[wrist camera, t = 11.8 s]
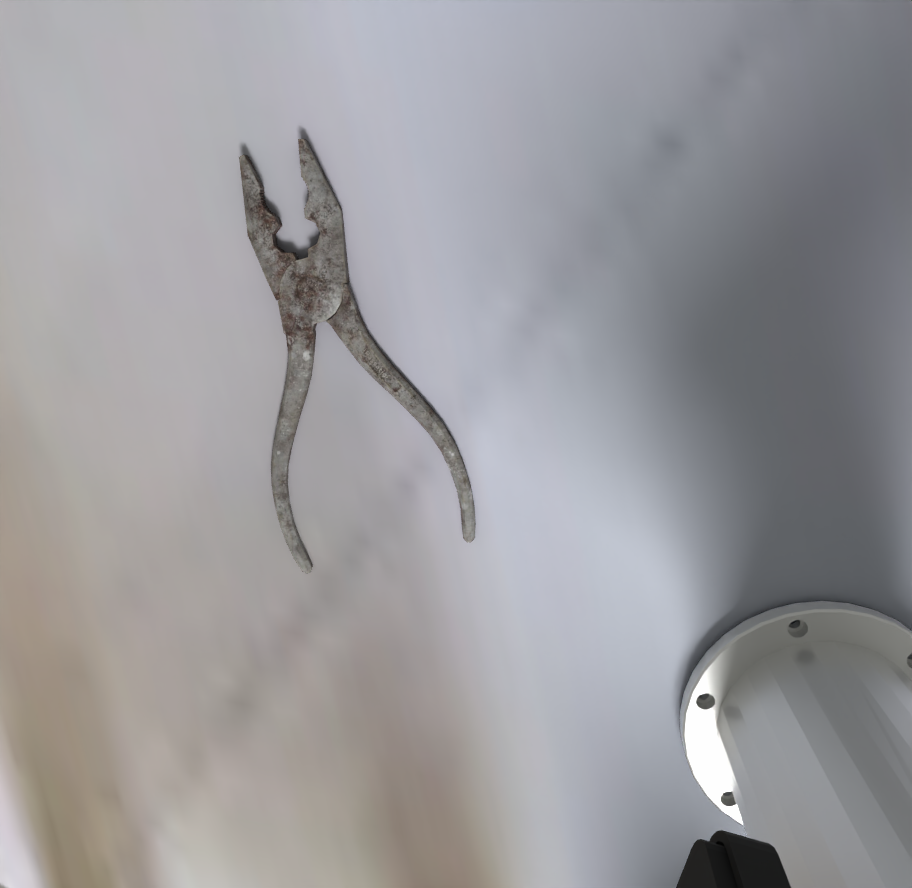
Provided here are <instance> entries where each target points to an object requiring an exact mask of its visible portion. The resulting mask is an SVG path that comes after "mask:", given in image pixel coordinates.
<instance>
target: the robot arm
mask: <svg viewBox="0 0 912 888" xmlns="http://www.w3.org/2000/svg"><path fill="white" fill-rule="evenodd" d="M795 620H797V621H796V622H795V623H793V624H790V623H791V622H793V621H795ZM703 693H705V694H703ZM701 694H703V695H701ZM680 735H681V739H682V743H683V748H684V752H685V756H686V759H687V761H688V764H689V767H690V769H691V772H692V775H693V777H694V778H695V780H696V781H697V783H698V784H699V786H700V788H701V789H702V791H703V792H704V794H705V795H706V796H707V797H708V798H709V799H710V800H711V802H712V803H713V804H714V805H715V806H716V807H717V808H718V809H719V810H721V811H722V812H723V813H725V814H726V815H728V816H729V817H731V818H732V819H733V820H735V821H736V822H738V823H739V824H741V825H743V826H744V828H745V830H746V833H747V836H748V838H747V837H744V836H740V835H737V834H733V833H729V832H726V831H722V830H721V831H717V832H716V833H715V834H714V835H713V836H712V838H711V839H710V841H705V840H701V839H700V840H697V841H696V842H695V843H694V845H693V847H692V849H691V851H690V854H689V856H688V859H687V861H686V864H685V866H684V869H683V872H682V874H681V877H680V879H679V882H678V884H677V887H676V888H912V631H911V630H910V629H908V628H907V627H906V626H904V625H903V624H902V623H900V622H899V621H897V620H895V619H893V618H891V617H889V616H887V615H884V614H882V613H880V612H878V611H876V610H873V609H869V608H865V607H862V606H858V605H854V604H850V603H841V602H829V601H815V602H803V603H794V604H790V605H786V606H782V607H778V608H774V609H770V610H768V611H765V612H763V613H761V614H759V615H756V616H754V617H752V618H750V619H747V620H745V621H744V622H742V623H741V624H739V625H738V626H736V627H735V628H733V629H732V630H730V631H729V632H727V633H726V634H724V635H723V636H722V637H721V638H720V639H719V640H718V641H717V642H716V643H715V644H714V645H713V646H712V647H711V648H710V649H709V650H708V651H707V652H706V653H705V654H704V656H703V657H702V659H701V660H700V662H699V663H698V664H697V666H696V667H695V669H694V670H693V672H692V674H691V677H690V679H689V681H688V684H687V686H686V688H685V691H684V694H683V699H682V704H681V710H680Z"/></svg>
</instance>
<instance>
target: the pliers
mask: <svg viewBox="0 0 912 888" xmlns="http://www.w3.org/2000/svg"><path fill="white" fill-rule="evenodd" d="M298 142H299V154H300V165H301V177H302V178H303V180H304V181H305V183H307V184H306V185H307V186H308V189H309V190H308V192H309V193H308V194H309V196H308V198H309V199H308V202H307V204H306V205H305V206H306V207H305V208H304V213H305V218H306V219H308V220H310V221H313V222H315V223H316V225H317V227H318V229H319V231H320V236H319V239H318V242H317V244H315V245H314V246H312V247H310V248H309V249H308V257H307V258H304V259H300V260H299V258H298V256H297V254H296V253H286V252H284V251H283V250H282V249H281V248H280V247H278V246H277V240H276V233H277V232H278V230H279V229H280V228H281V226H282V224H281V222H280V220H279V218H278V216H276V215H275V214H273V213H271V211H269V209H268V208H267V206H266V203H265V201H264V197H263V196H264V194H263V193H265V192H264V187H263V185H262V183H261V181H260V179H259V177H258V175H257V173H256V171H255V169H254V167H253V165H252V163H251V161H250V159H249V157H248V156H247V155H242V156H240V157H239V160H240V169H241V178H242V187H243V196H244V205H245V214H246V223H247V231H248V237H249V239H250V241H251V244H252V246H253V248H254V251H255V253H256V256H257V258H258V260H259V263H260V265H261V267H262V270H263V272H264V274H265V277H266V279H267V281H268V283H269V286H270V288H271V290H272V292H273V294H274V296H275V298H276V300H279V301H278V305H279V310H280V315H281V320H282V326H283V331H284V333H285V334H286V338H287V346H288V367H287V376H286V383H285V389H284V394H283V399H282V404H281V409H280V414H279V419H278V424H277V429H276V434H275V439H274V444H273V452H272V461H271V480H272V490H273V496H274V503H275V508H276V511H277V515H278V519H279V523H280V527H281V529H282V532H283V535H284V537H285V540H286V543H287V545H288V547H289V549H290V551H291V553H292V555H293V557H294V559H295V561H296V563H297V564H298V566H299V567H300V569H301V570H302V572H304V573H307V574H308V573H310V572H311V570H312V567H313V565H312V563H311V561H310V559H309V556H308V554H307V552H306V550H305V548H304V546H303V544H302V542H301V540H300V537H299V535H298V532H297V529H296V526H295V523H294V520H293V515H292V510H291V506H290V500H289V491H288V465H289V459H290V454H291V449H292V445H293V441H294V437H295V433H296V429H297V426H298V422H299V419H300V415H301V412H302V408H303V405H304V402H305V399H306V396H307V392H308V388H309V384H310V380H311V376H312V369H313V361H314V353H315V339H316V331H315V328H316V324H317V323H320V322H323V321H327V322H328V323H329V324H330V325H331V326H332V328H333V329H334V331H335V332H336V333H337V335H338V336H339V337H340V339H341V340H342V341H343V343H344V344H345V346H346V347H347V348H348V350H349V351H350V352H351V353H352V355H353V356H354V357H355V358H356V360H357V361H358V362H359V364H360V365H361V366H362V367H363V368H364V369H365V370H366V371H367V372H368V373H369V374H370V375H371V376H372V377H373V378H374V379H375V380H376V381H377V382H378V383H379V384H380V385H381V386H382V387H384V388H385V389H386V390H387V391H388V392H389V393H390V394H391V395H392V396H393V397H394V398H395V399H396V400H397V401H398V402H399V403H400V404H401V405H402V406H403V407H404V408H405V409H406V410H407V411H408V412H409V413H410V414H411V415H412V416H413V417H414V418H415V419H416V420H417V421H418V422H419V423H420V424H421V425H422V426H423V427H424V429H425V430H426V431H427V432H428V433H429V434H430V435H431V437H432V438H433V440H434V441H435V443H436V445H437V446H438V448H439V449H440V451H441V452H442V454H443V456H444V458H445V461H446V463H447V465H448V467H449V469H450V472H451V474H452V477H453V480H454V483H455V486H456V489H457V493H458V498H459V503H460V508H461V518H462V530H463V538H464V539H465V540H466V541H467V542H472V541H473V540H474V537H475V511H474V502H473V497H472V491H471V486H470V483H469V479H468V476H467V473H466V469H465V466H464V463H463V461H462V458H461V456H460V454H459V451H458V449H457V446H456V444H455V442H454V441H453V439H452V437H451V435H450V434H449V432H448V430H447V428H446V427H445V425H444V424H443V422H442V421H441V420H440V418H439V417H438V416H437V415H436V413H435V412H434V411H433V409H432V408H431V407H430V406H429V405H428V404H427V403H426V401H425V400H424V399H423V398H422V397H421V396H420V395H419V394H418V393H417V391H416V390H415V389H414V388H413V387H412V386H411V385H410V384H409V383H408V381H407V380H406V379H405V378H404V377H403V376H402V375H401V374H400V373H399V372H398V370H397V369H396V368H395V367H394V366H393V365H392V364H391V363H390V361H389V360H388V359H387V358H386V356H385V355H384V354H383V353H382V352H381V350H380V349H379V348H378V346H377V345H376V343H375V342H374V341H373V339H372V338H371V336H370V335H369V333H368V331H367V329H366V327H365V325H364V323H363V321H362V319H361V316H360V313H359V310H358V307H357V305H356V302H355V299H354V296H353V294H352V291H351V288H350V286H349V284H348V282H349V273H348V263H347V253H346V243H345V233H344V223H343V213H342V209H341V207H340V205H339V203H338V201H337V199H336V197H335V195H334V193H333V191H332V189H331V187H330V185H329V183H328V181H327V179H326V177H325V175H324V173H323V171H322V169H321V167H320V165H319V163H318V161H317V159H316V157H315V155H314V153H313V151H312V149H311V147H310V145H309V143H308V141H307V140H305V139H298ZM332 316H333V317H332ZM331 317H332V318H331ZM330 318H331V319H330Z"/></svg>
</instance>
